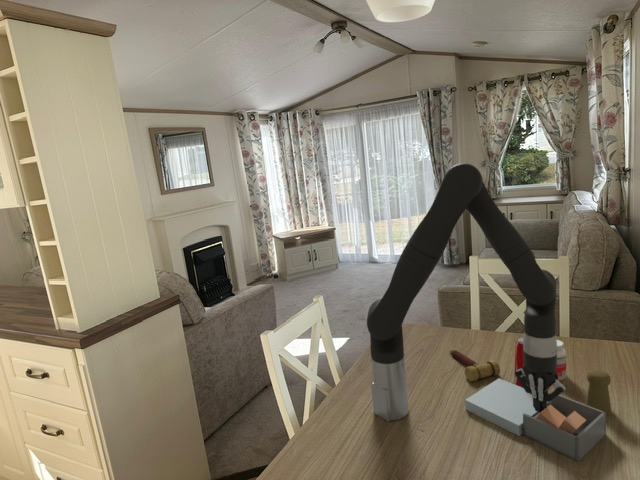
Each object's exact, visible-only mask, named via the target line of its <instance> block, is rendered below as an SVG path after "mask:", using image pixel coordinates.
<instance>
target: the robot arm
mask: <svg viewBox="0 0 640 480" xmlns="http://www.w3.org/2000/svg"><path fill="white" fill-rule="evenodd" d="M483 180H484V179H483V176H482V173H481V171H480V169H478V168H477V167H476V166H474V165H473V164H471V163H466V162H464V163H462V162H461V163H457V164H455V165H452V166H451V167H450V168H448V170H446V172H445V174H444V176H443V179H442V181H441V184H440V186H439V188H438V190H437V193H436V195H435V197H434V200H433V201H432V204H431V206H430V207H429V210H428V211H427V213H426V214H425V216H424V217H423V219H422V220H421V221H420V223H419V224H418V225H417V226H416V229H414V232H413V233H412V235H411V237H410V238H409V240H408V241H407V243H406V245H405V247H404V248H403V250H402V252H401V254H400V256H399V258H398V260H397V263H396V265H395V268H394V270H393V273H392V276H391V279H390V282H389V285H388V287H387V289H386V291H385V292H384V294H383V296H382V298H379V299H377V300H375V301H373V302H372V303H371V305H370V307H368V311H367V317H366V327H367V330H368V332H369V335H370V336H369V338H370V343H369V344H370V358H371V368H372V370H371V371H372V379H373V382H371V384H370V387H371V394H372V395H371V396H372V397H371V398H372V406H373V408H372V409H373V413H374V414H375V415H377V416H378V417H380V418H381V419H383V420H385V421H386V422H391V421H398V420H400V419H403V418H405V417H406V416H408V414H409V400H408V388H407V377H406V364H405V363H406V362H405V349H404V337H403V335H404V334H403V323H404V320H405V319H406V315H407V313H408V311H409V309H410V307H411V305H413V304H412V303H413V302H414V300H415V298H416V297H417V296H418V294H419V293H420V291H421V289H422V288H423V287H424V285H425V284H426V282H427V281H428V279H429V277H430V276H431V274H432V273H433V272H434V270H435V268H436V266H437V264H438V263H439V262H440V260H441V258H442V257H443V254H444V252H445V250H446V248H447V247H448V244H449V241H450V239H451V236H452V234H453V231H454V229H455V226H456V225H457V223H458V221H459V219H460V218H461V216H462V215H463V214H464V213H465V210H467V211H468V213H469V214H470V215H471V216H472V217H473V219H474V220H475V222H476V223H477V225H478V227H479V228H480V229H481V231H482V233H483V235H484V236H485V238H486V240H487V241H488V243H489V245H490V246H491V248H492V249H493V251H494V252H495V253H496V255H497V256H498V258H499V259H500V260H501V262H502V263H503V264H504V265H505V267H506V268H507V269H508V271H509V272H510V274H511V277H512V279H513V280H514V282H515V284H516V286H517V288H518V290H519V292H520V293H521V295H522V296H523V297H524V299H525V310H524V316H523V317H524V318H523V323H524V325H523V330H524V331H523V336H522V337H523V363H524V366H523V369H522V368H520V369H519V370H517V371H516V372H515V371H514V372H515V375H516V377H517V378H518V380H519V382H520V383H521V385H522V386H523V388H524V390H525V391H526V392H527V393H530V394H531V395H532V397H533V407H534V408H535V411H537V412H541V411H543V410H544V409H545V408H546V407H547V401H548V402H549V401H551V400H552V399H554V398H555V397H556V396H558V395H562V393H563V392H565V391H566V390H567V389H568V385H566V384H564V383H563V384H562V383H561V381H560V380H558V376H557V373H556V369H557V340H558V339H557V320H556V299H557V280H556V278H555V276H554V274H553V273H551V272H549V270H546V269H542V268H541V267H540V265H539V264H538V263H537V260H536V256H535V254H534V252H533V250H532V249H531V247H530V245H529V244H528V243H527V242H526V240H525V239H524V238H523V236H522V235H521V234H520V233H519V232H518V230H517V229H516V228H515V227H514V225H513V223H512V222H510V220H509V219H508V218H507V217H506V216H505V215H504V213H503V212H502V211H501V210H500V208H499V207H498V205H497V203H495V200H493V198H492V196H491V195H490V193H489V190H488V188H487V187H486V185H485V183H484V181H483ZM526 383H527V384H526ZM527 385H528V386H527ZM553 385H554V386H553ZM551 386H553V391H551V392H552V393H551V392H550V393H549V390H550V387H551Z"/></svg>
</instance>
